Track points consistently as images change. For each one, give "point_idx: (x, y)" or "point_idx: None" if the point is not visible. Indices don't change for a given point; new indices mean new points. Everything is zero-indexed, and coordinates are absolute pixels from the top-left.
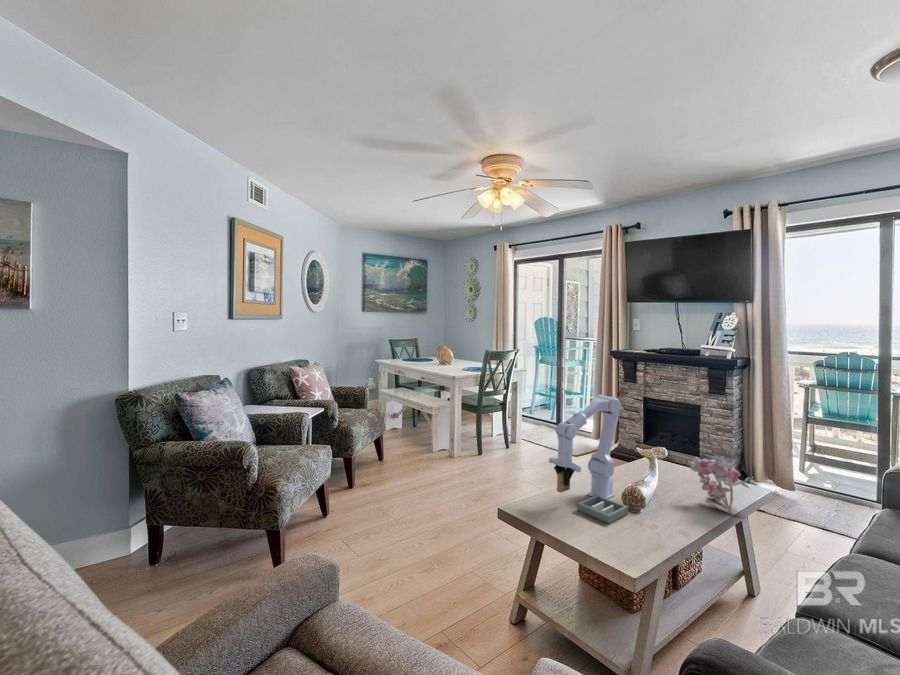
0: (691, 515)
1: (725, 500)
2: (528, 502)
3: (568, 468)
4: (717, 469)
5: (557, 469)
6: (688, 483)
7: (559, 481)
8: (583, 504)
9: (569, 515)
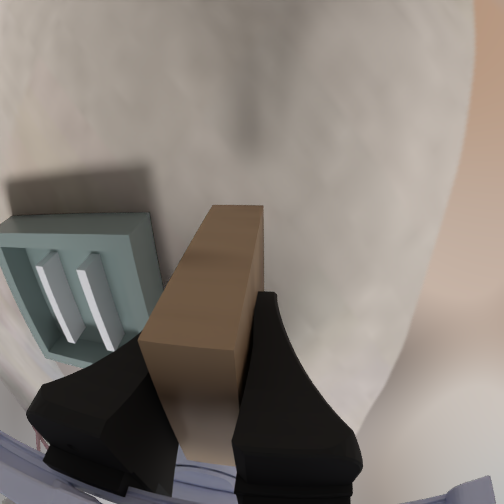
0: None
1: (38, 450)
2: (435, 71)
3: (76, 472)
4: None
5: (256, 432)
6: None
7: (210, 265)
8: (104, 250)
9: (134, 127)
